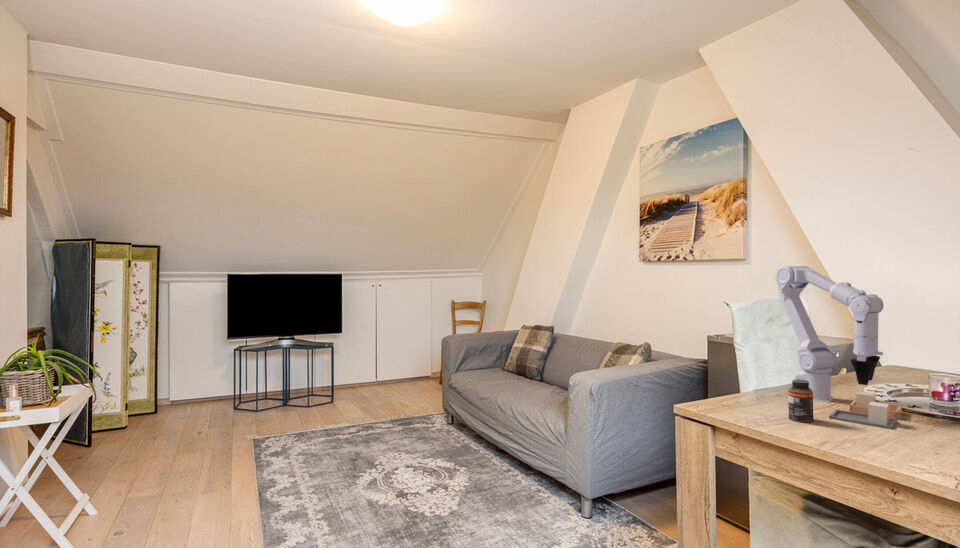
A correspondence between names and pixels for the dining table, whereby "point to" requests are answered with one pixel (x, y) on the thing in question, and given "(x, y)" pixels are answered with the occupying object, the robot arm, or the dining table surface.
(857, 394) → the tan cube
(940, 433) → the dining table surface
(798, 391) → the supplement bottle
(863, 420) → the parts tray
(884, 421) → the cream cube on tray
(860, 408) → the terracotta dish
